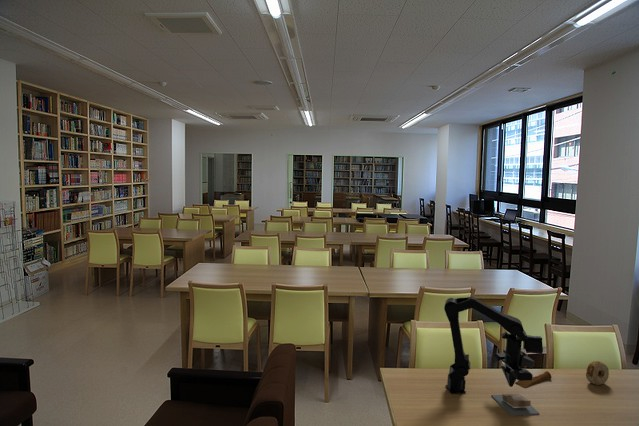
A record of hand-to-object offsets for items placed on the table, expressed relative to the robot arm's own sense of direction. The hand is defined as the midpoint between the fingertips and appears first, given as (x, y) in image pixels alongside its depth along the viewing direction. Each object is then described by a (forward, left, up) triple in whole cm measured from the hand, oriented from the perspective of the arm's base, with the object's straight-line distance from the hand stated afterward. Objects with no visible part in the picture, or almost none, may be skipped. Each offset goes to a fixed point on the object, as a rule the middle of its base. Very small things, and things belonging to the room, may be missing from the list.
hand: (510, 386), depth 169 cm
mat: (0, -3, -6) cm, 7 cm away
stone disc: (+48, +11, -6) cm, 49 cm away
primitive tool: (+20, +14, -7) cm, 25 cm away
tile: (0, 0, -4) cm, 4 cm away
